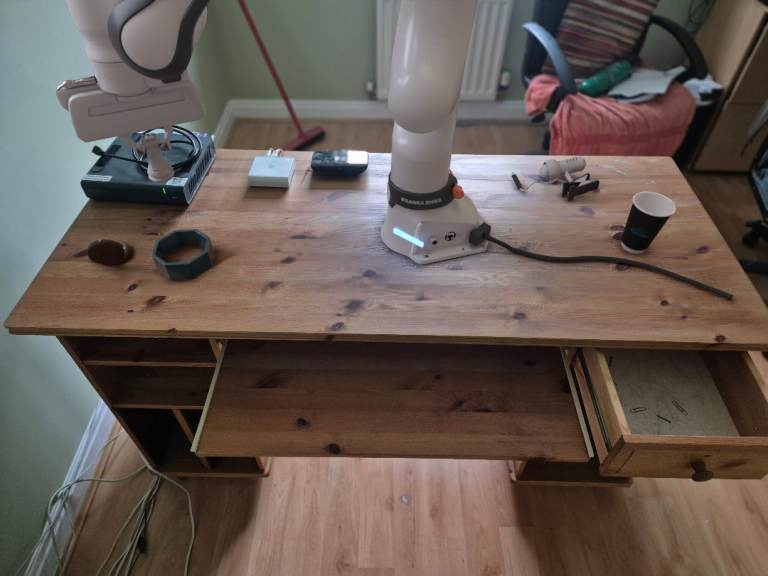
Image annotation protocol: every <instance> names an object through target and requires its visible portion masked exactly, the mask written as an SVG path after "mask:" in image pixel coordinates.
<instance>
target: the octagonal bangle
mask: <svg viewBox="0 0 768 576" xmlns="http://www.w3.org/2000/svg"><path fill="white" fill-rule="evenodd" d="M188 247H189V248H190V247H201V248H202V249H203V250H204V251H203V252H201V253H200V254H198V255H196V256H195V257H193V258H191V259H190V260H189V261H181V262H180V261H179V262H166V261H165V258H166V257H167V256H168V255H170V254H171V253H173V252H176V251H177V250H179V249H181V248H188ZM215 254H216V252H215V249H214V247H213V243H212V239H211V237H210V236H208V235H207V234H205V233H203V232H202V231H201V230H199V229H197V228H189V229H188V228H187V229H175V230H172V231H171V232H169V233H167V234H165V235H164V236H162V237H161V238H159V239H157V240H156V241H155V243H154V246H153V249H152V252H151V258H152V259H153V262H154V265H155V268H156V269H157V272H159V273H160V274H162V275H163V276H164V277H165V278H166V279H168V280H169V281H173V282H174V281H186V280H194V279H195V280H196V279H197V278H199V277H200V276H201V275H203V274H204V273H206V272H207V271H209V270H210V269H212V268H213V265H214V259H215Z"/></svg>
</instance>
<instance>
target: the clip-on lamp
mask: <svg viewBox="0 0 768 576" xmlns="http://www.w3.org/2000/svg"><path fill="white" fill-rule="evenodd" d="M586 166H587V161H586V159H585V158H584V157H583V156H576V157H571V158H566V159H561V160H556V159H547V160H545V161H544V162H543V163H542V166H541V167H540V168H539V175H540V177H541V178H543V179H545V181H540V180H535V181H534V182H532V183H531V184H530V185H528V186H527V187H526V189H523V185H522V183H521V181H520V179H519V177H518V176H517V174H516V173H514V172H513V171H511V179H512V180H513V181H512V182H513V183H514V184H515V186H516V188H517V190H520V191H521V192H526V191H528V190H529V189H530V188H531V187H532V186H534V184H536V183H537V184H542V185H551V184H553V183H555V182H560V183H562V190H561V196H562V198H565V197H567V201H568V202H571V201H573V200H574V198H575V197H578V196H581V195H584V194H587V193H590V192H594V191H595V190H598V189H599V187H600V182H601V181H600V180H599V179H594V180H591V173H589V172H586V173H584V174H582V175H581V176H578V177H577V178H574V179H573V178H572V176H571V174H575V173H580V172H583V171H584V170H585V169H586ZM562 176H565V178H566V181H564V180H562V179H560V177H562Z"/></svg>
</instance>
